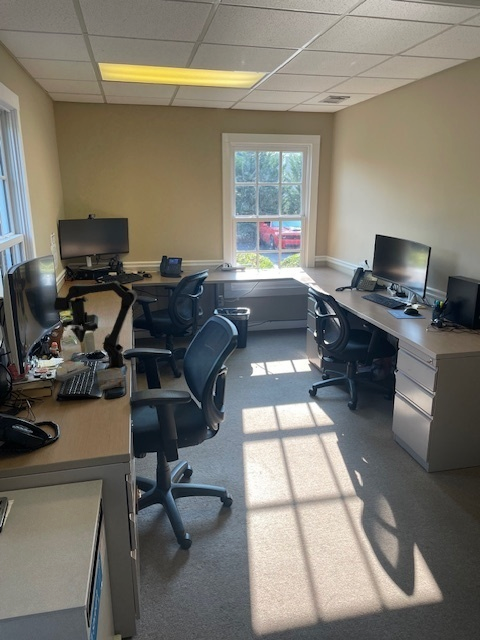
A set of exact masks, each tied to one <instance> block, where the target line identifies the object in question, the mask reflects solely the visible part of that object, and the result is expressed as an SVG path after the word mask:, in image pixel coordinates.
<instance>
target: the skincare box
mask: <svg viewBox="0 0 480 640" xmlns="http://www.w3.org/2000/svg"><path fill="white" fill-rule="evenodd" d="M79 343H80V351H81V354H82V353H84V354H87V353H90V352H93V351H96V345H95V344H96V343H95V336H94V330H91V331H86V332H85V335H84V339H83V342H79Z"/></svg>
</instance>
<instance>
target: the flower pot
mask: <svg viewBox="0 0 480 640" xmlns="http://www.w3.org/2000/svg"><path fill="white" fill-rule="evenodd" d="M89 315H90V316H95V321H94V323H97V324H98V325H99V316H98V315H96V314H94V313H93V314H89ZM88 323H90V322H88Z"/></svg>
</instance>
